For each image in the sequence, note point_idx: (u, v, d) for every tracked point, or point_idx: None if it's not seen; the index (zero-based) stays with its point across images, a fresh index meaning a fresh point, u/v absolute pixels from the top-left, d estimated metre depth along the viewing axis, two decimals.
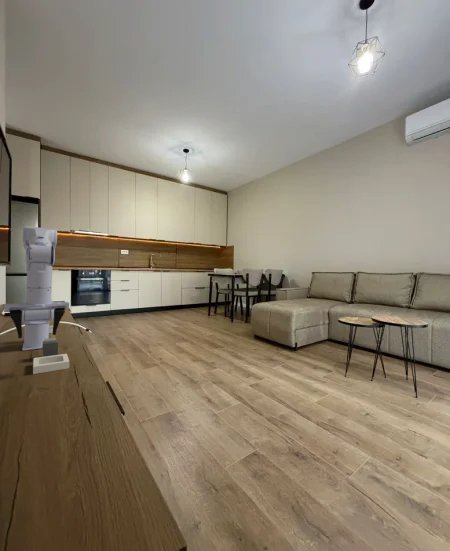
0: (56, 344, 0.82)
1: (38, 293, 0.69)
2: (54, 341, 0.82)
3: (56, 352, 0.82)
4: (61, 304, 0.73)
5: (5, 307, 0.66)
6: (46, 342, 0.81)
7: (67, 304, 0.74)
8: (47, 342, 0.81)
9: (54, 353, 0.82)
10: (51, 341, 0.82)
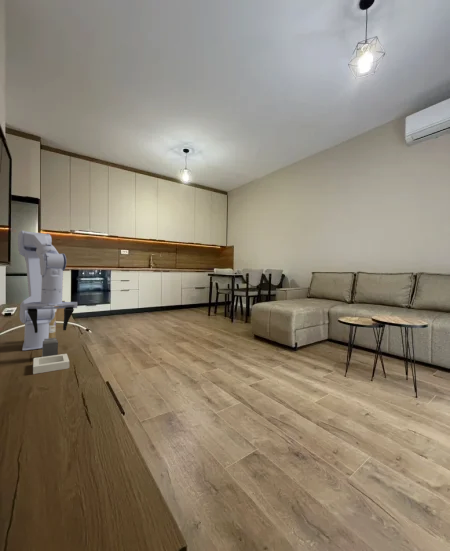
0: (56, 344, 0.82)
1: (52, 294, 0.80)
2: (54, 341, 0.82)
3: (56, 352, 0.82)
4: (70, 304, 0.85)
5: (24, 306, 0.78)
6: (46, 342, 0.81)
7: (75, 304, 0.86)
8: (47, 342, 0.81)
9: (54, 353, 0.82)
10: (51, 341, 0.82)
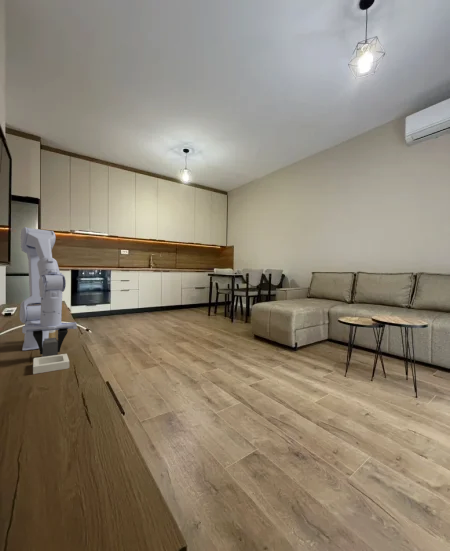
0: (56, 344, 0.82)
1: (51, 316, 0.80)
2: (54, 341, 0.82)
3: (56, 352, 0.82)
4: (70, 325, 0.85)
5: (23, 329, 0.78)
6: (46, 342, 0.81)
7: (75, 324, 0.86)
8: (47, 342, 0.81)
9: (54, 353, 0.82)
10: (51, 341, 0.82)
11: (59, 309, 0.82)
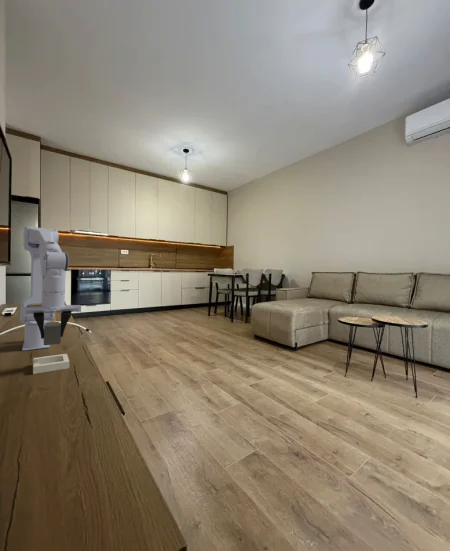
0: (59, 328, 0.75)
1: (53, 297, 0.73)
2: (57, 325, 0.75)
3: (59, 337, 0.75)
4: (74, 307, 0.78)
5: (22, 310, 0.71)
6: (48, 326, 0.74)
7: (79, 307, 0.79)
8: (49, 326, 0.74)
9: (56, 338, 0.75)
10: (53, 325, 0.74)
11: (61, 289, 0.75)
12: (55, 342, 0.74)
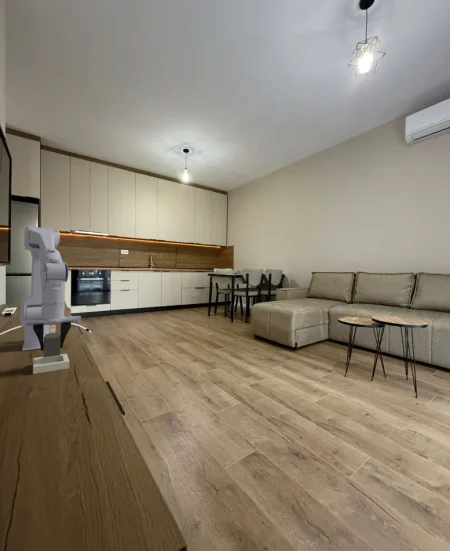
0: (58, 340, 0.75)
1: (53, 308, 0.73)
2: (56, 336, 0.75)
3: (58, 349, 0.75)
4: (73, 318, 0.77)
5: (22, 322, 0.70)
6: (47, 338, 0.73)
7: (79, 318, 0.78)
8: (49, 337, 0.73)
9: (56, 350, 0.74)
10: (53, 336, 0.74)
11: (61, 301, 0.75)
12: (55, 354, 0.74)
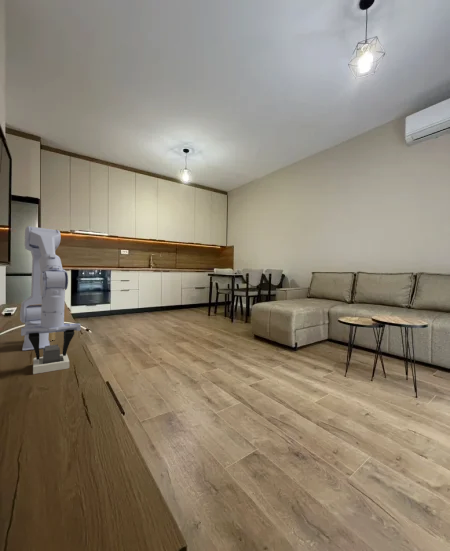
0: (58, 352, 0.75)
1: (52, 317, 0.73)
2: (56, 348, 0.75)
3: (58, 361, 0.75)
4: (73, 326, 0.77)
5: (22, 331, 0.70)
6: (47, 350, 0.73)
7: (79, 326, 0.78)
8: (48, 350, 0.73)
9: None
10: (52, 348, 0.74)
11: (61, 309, 0.75)
12: None
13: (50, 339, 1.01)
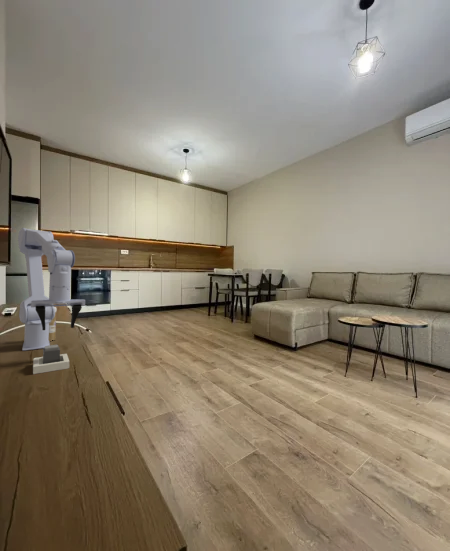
0: (58, 352, 0.75)
1: (60, 291, 0.79)
2: (56, 348, 0.75)
3: (58, 361, 0.75)
4: (78, 301, 0.84)
5: (32, 303, 0.77)
6: (47, 350, 0.73)
7: (83, 301, 0.85)
8: (48, 350, 0.73)
9: None
10: (52, 348, 0.74)
11: (68, 284, 0.82)
12: None
13: (50, 339, 1.01)
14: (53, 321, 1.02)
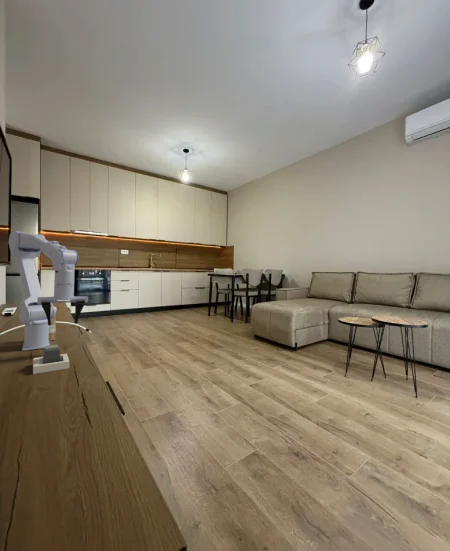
0: (58, 352, 0.75)
1: (64, 288, 0.84)
2: (56, 348, 0.75)
3: (58, 361, 0.75)
4: (82, 298, 0.88)
5: (38, 300, 0.81)
6: (47, 350, 0.73)
7: (86, 298, 0.90)
8: (48, 350, 0.73)
9: None
10: (52, 348, 0.74)
11: (73, 282, 0.87)
12: None
13: (50, 339, 1.01)
14: (53, 321, 1.02)
